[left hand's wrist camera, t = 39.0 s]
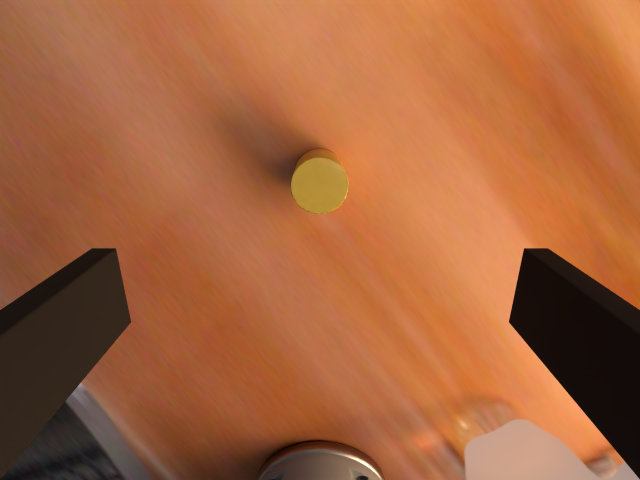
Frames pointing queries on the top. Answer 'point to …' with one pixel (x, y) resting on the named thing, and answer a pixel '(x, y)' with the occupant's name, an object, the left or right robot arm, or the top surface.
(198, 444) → the top surface
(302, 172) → the tin
